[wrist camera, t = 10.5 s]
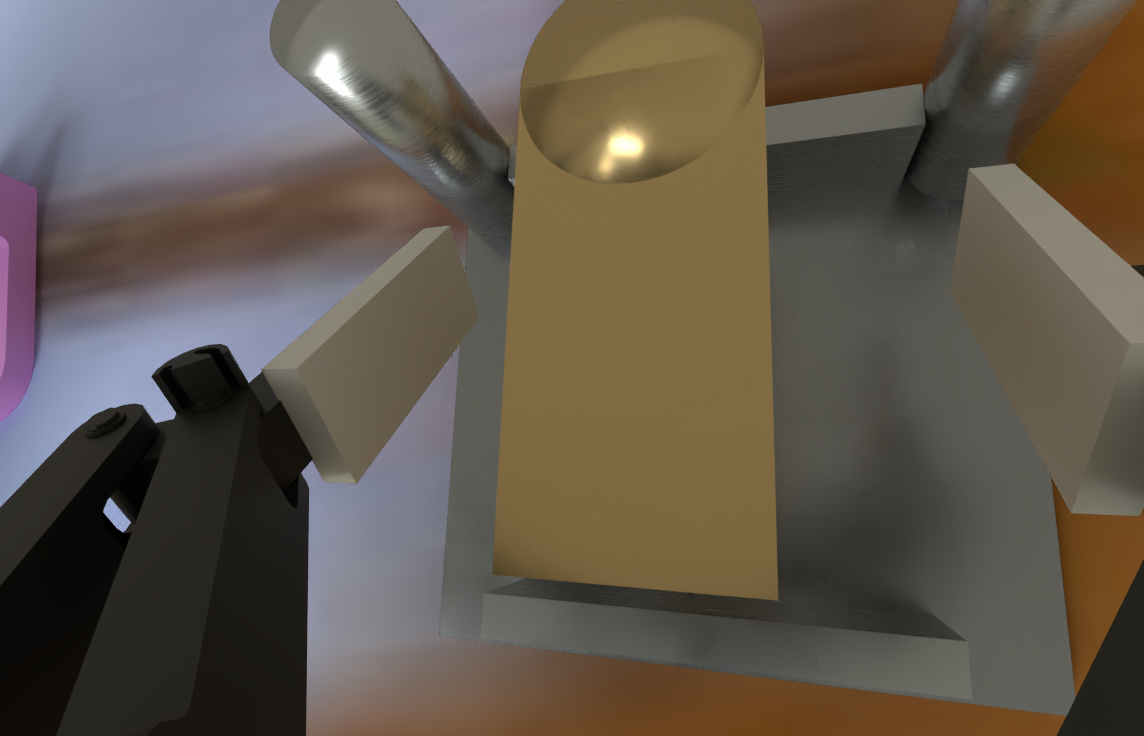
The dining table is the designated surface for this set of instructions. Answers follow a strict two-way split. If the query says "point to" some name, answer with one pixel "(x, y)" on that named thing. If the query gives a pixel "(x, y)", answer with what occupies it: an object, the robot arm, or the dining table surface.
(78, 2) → the dining table surface
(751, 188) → the tan block
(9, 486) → the dining table surface
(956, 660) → the steel base leaf
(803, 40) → the dining table surface
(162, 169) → the dining table surface
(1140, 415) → the robot arm
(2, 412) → the bracket
